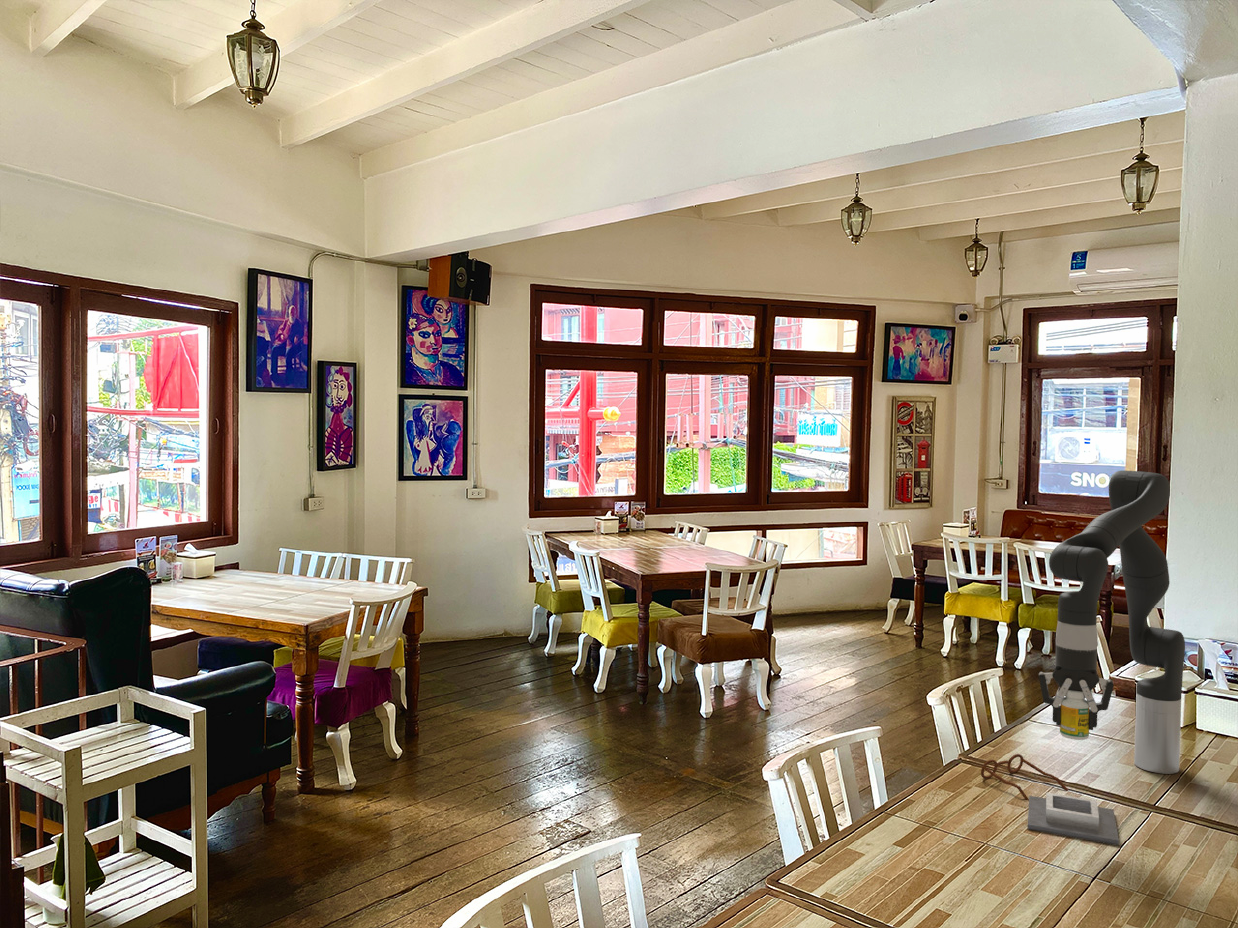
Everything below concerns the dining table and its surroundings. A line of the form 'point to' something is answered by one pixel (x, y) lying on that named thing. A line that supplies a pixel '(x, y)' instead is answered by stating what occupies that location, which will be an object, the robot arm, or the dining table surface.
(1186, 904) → the dining table surface
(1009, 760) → the glasses
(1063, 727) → the supplement bottle
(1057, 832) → the mount
